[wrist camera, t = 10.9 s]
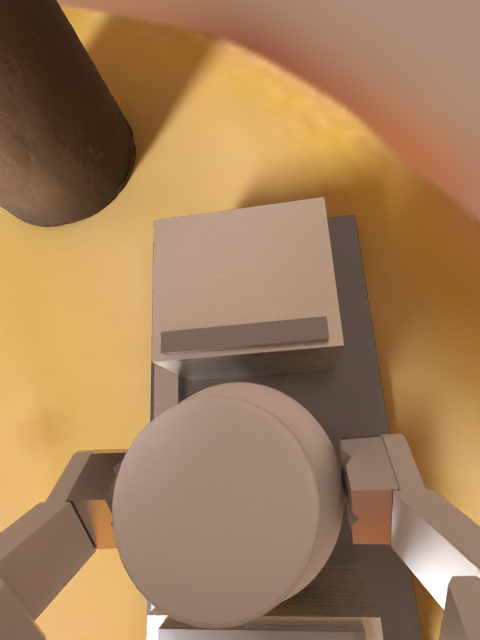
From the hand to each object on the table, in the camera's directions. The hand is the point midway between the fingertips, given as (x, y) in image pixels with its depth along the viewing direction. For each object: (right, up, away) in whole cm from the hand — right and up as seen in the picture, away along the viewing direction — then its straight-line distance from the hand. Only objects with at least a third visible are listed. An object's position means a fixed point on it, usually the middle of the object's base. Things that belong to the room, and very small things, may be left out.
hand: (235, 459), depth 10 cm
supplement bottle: (+1, -3, +6) cm, 7 cm away
